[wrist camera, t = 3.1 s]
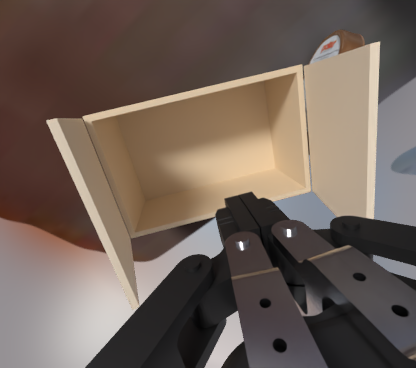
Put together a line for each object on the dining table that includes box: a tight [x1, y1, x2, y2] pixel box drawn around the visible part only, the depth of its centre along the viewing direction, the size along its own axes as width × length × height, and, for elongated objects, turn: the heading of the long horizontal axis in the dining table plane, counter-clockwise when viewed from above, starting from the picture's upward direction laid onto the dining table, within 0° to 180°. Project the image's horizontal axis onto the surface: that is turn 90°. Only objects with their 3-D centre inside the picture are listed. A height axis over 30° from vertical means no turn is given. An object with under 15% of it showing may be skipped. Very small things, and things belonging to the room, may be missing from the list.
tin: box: [303, 30, 365, 155], centre depth 30 cm, size 15×3×8 cm, turn 165°
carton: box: [83, 65, 311, 238], centre depth 30 cm, size 22×14×10 cm, turn 103°
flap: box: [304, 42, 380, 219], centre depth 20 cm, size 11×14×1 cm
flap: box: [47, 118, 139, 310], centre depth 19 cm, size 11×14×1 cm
